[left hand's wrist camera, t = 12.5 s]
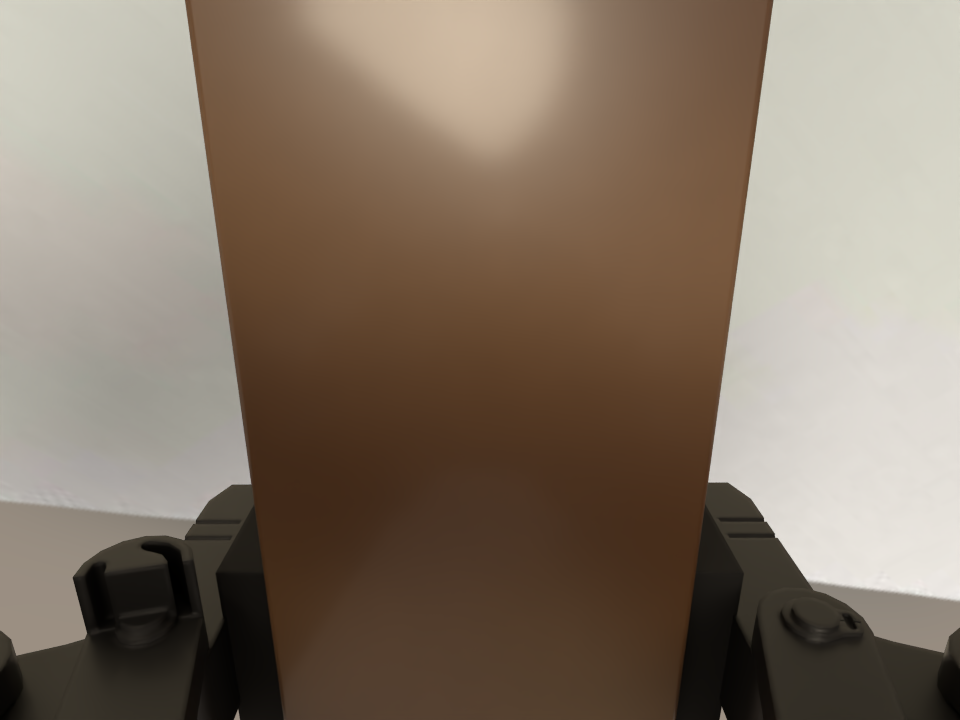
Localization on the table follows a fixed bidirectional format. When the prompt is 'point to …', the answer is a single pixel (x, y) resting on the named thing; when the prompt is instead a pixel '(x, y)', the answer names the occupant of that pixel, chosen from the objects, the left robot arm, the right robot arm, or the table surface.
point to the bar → (479, 335)
